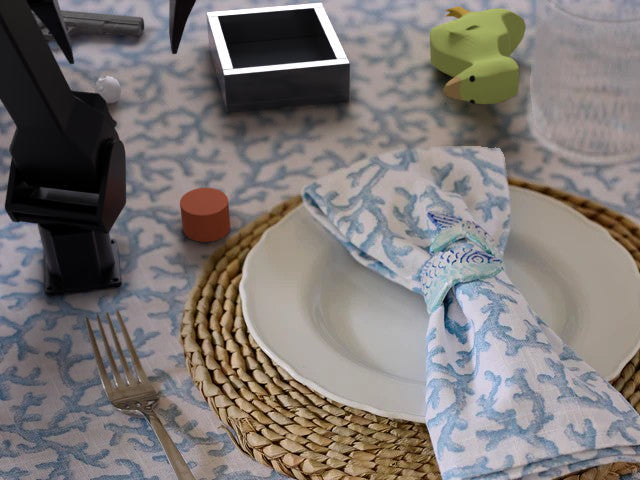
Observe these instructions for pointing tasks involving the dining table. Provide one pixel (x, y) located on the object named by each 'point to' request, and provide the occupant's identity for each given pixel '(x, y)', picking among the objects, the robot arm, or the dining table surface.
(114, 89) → the white bumpy ball
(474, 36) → the toy
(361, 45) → the dining table surface
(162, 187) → the dining table surface
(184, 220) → the stopper
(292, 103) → the dark grey open box
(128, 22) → the pistol
